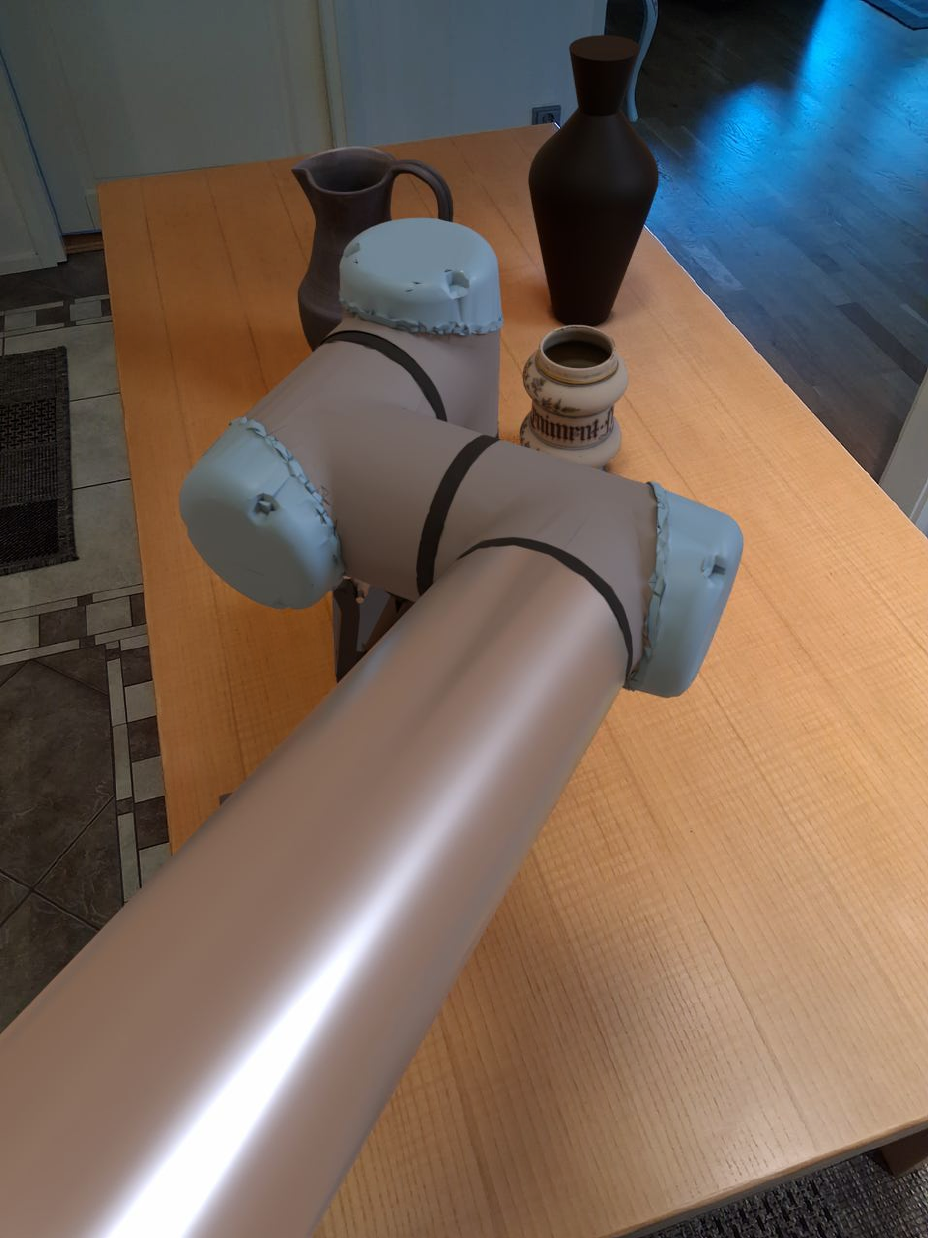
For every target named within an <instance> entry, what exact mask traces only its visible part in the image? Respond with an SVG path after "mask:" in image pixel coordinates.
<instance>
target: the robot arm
mask: <svg viewBox="0 0 928 1238" xmlns="http://www.w3.org/2000/svg"><path fill="white" fill-rule="evenodd" d="M500 288H501V287H500V275H499V263H498V258H497V256H496V253H495V251H494V249H493V247H492V246H491V244H490V243H489V242H488V241H487V240H486V239H485V237H483V236H482V235H481V234H479V233H478V232H477V231H475V230H474V229H471V228H470V227H468V226H465V225H463V224H461V223H457V222H454V221H453V222H448V221H444V220H440V219H438V218H435V217H405V218H398V219H392V221H388V222H385V223H381V224H379V225H376V226H374V227H371V228H369V229H367V230H365V231H363V232H362V233H360V234H359V235H357V236H356V237H355V238H354V239H353V240H352V241H351V242H350V243H349V244H348V245H347V247H346V248H345V250H344V254H343V257H342V259H341V262H340V291H339V293H338V294H339V296H340V297H339V298H338V299H339V301H340V306H341V307H342V308H343V314H344V315H343V318H342V322H341V323H340V324H339V325H338V326H337V327H336V328H335V329H334V330H333V331H332V332H330V333H329V334H328V335H327V336H326V337H325V338H324V339H323V340H322V341H321V343H320V344H319V345H318V346H317V347H316V349H315V351H314V352H311V354H309V355H308V356H307V357H306V358H305V359H303V360H302V362H300V363H299V364H298V366H296V367H295V368H294V369H293V370H292V371H290V372H289V373H288V375H286V376H285V377H284V378H283V379H282V380H281V381H279V382H278V383H277V384H276V385H275V386H274V387H273V388H271V390H270V391H268V392H267V393H266V394H265V395H264V396H263V397H261V399H259V400H258V402H256V403H255V404H254V405H253V406H252V407H251V408H250V409H249V410H248V411H246V412H245V413H244V414H243V415H242V416H241V417H236V418H234V419H232V420H231V421H230V423H228V425H227V427H226V430H225V431H224V432H223V433H222V434H221V435H219V437H218V438H217V439H216V440H215V441H214V442H213V443H212V444H211V446H209V447H208V448H207V450H206V451H205V452H204V453H202V455H201V456H200V458H199V460H198V461H197V463H195V465H194V466H193V467H192V468H191V469H190V470H189V472H188V473H187V474H186V476H185V477H184V479H183V481H182V484H181V486H180V490H179V498H178V510H179V514H180V518H181V520H182V522H183V523H184V525H185V527H186V533H187V537H188V539H189V541H190V543H191V545H192V546H193V548H194V549H195V551H196V552H197V554H198V555H199V556H200V558H201V559H202V560H203V561H204V563H205V564H206V565H207V566H208V567H209V568H210V569H211V570H212V572H214V573H215V575H217V576H218V577H219V578H220V579H221V581H223V582H225V583H226V584H227V585H229V586H230V587H231V588H232V589H233V590H235V591H237V593H239V594H241V595H243V596H244V597H246V598H248V599H250V601H252V602H255V603H257V604H259V605H262V606H265V607H268V608H271V609H274V610H279V611H280V610H281V611H282V610H285V609H288V608H290V609H292V610H298V611H299V610H307V609H310V608H311V607H313V606H315V605H316V604H317V603H319V602H320V601H321V600H322V599H323V598H324V597H325V596H326V595H327V594H328V593H329V592H332V591H333V595H334V597H335V599H336V602H337V604H338V606H339V616H338V630H337V644H336V665H337V678H338V679H339V680H341V681H340V682H339V683H338V684H337V683H336V685H335V686H334V687H332V689H331V690H330V691H329V692H328V693H327V694H326V695H325V696H324V697H323V698H322V699H321V700H320V701H319V702H318V703H317V704H316V705H315V706H314V707H313V708H312V709H311V711H310V712H309V713H308V714H307V715H306V716H305V717H304V718H303V719H302V720H301V721H300V722H299V723H298V724H297V725H296V726H294V728H293V729H292V730H291V732H289V733H288V735H287V736H286V737H285V738H284V739H283V740H282V741H281V742H280V743H279V744H278V745H277V746H276V747H275V748H274V749H273V750H272V751H271V752H270V753H269V754H268V755H267V756H266V757H265V758H264V760H263V761H261V762H260V764H258V766H257V767H255V769H254V770H253V771H252V772H251V773H250V774H249V775H248V776H247V777H246V778H245V779H244V780H243V781H242V782H241V783H240V784H239V786H237V788H235V790H233V791H232V792H233V793H232V794H231V795H230V796H229V797H228V798H227V799H226V800H225V801H224V802H223V803H222V804H221V805H220V804H219V806H218V807H217V808H216V809H215V810H214V811H213V813H212V814H210V815H209V817H208V818H206V819H205V821H203V823H202V824H201V825H200V826H199V827H198V828H197V829H196V831H194V832H193V833H192V835H190V836H189V837H188V838H187V840H186V841H185V842H183V844H182V845H181V846H180V847H179V848H178V849H177V850H176V851H175V852H174V853H173V854H171V856H170V857H169V858H168V859H167V860H166V861H165V863H163V864H162V866H161V867H159V869H158V870H157V871H156V872H155V873H154V874H153V875H152V876H151V877H150V878H149V879H148V880H147V881H146V882H145V883H144V884H143V886H141V887H140V888H139V889H138V891H136V893H135V894H133V896H131V898H130V899H128V901H127V902H126V903H125V904H124V905H123V906H122V907H121V908H120V909H119V910H118V912H116V913H115V914H114V915H113V917H111V919H110V920H109V921H107V923H106V924H105V925H104V926H103V927H102V928H101V929H100V930H99V931H97V933H96V934H94V936H93V937H92V938H91V940H89V942H87V944H86V945H84V947H83V948H82V949H81V950H80V951H78V953H77V954H76V955H75V956H74V957H73V958H72V959H71V960H70V961H69V963H68V964H67V965H66V966H64V967H63V968H62V970H61V971H60V972H59V973H57V975H56V976H55V977H54V978H53V979H52V980H51V981H50V982H49V983H48V984H47V985H46V986H45V987H44V988H43V990H41V991H40V992H39V994H38V995H36V997H34V999H33V1000H31V1002H30V1003H29V1004H28V1005H27V1006H26V1007H25V1008H24V1009H23V1010H22V1011H21V1012H20V1013H19V1014H18V1015H17V1016H16V1017H15V1019H13V1021H11V1023H10V1024H8V1025H7V1027H6V1028H5V1029H4V1030H3V1031H2V1032H1V1033H0V1238H313V1237H314V1235H315V1233H316V1231H317V1230H318V1228H319V1226H320V1224H321V1222H322V1221H323V1219H324V1217H325V1215H326V1214H327V1212H328V1210H329V1208H330V1206H331V1204H332V1203H333V1201H334V1199H335V1198H336V1196H337V1195H338V1193H339V1190H340V1189H341V1187H342V1185H343V1184H344V1183H345V1182H344V1181H345V1180H346V1178H347V1176H348V1174H349V1173H350V1171H351V1170H352V1167H353V1166H354V1164H355V1162H356V1160H357V1159H358V1157H359V1155H360V1153H361V1151H362V1150H363V1148H364V1146H365V1144H366V1143H367V1141H368V1139H369V1137H370V1136H371V1134H372V1132H373V1130H374V1128H375V1127H376V1125H377V1123H378V1122H379V1120H380V1118H381V1116H382V1114H383V1113H384V1111H385V1109H386V1107H387V1106H388V1103H389V1102H390V1100H391V1098H392V1097H393V1095H394V1093H395V1092H396V1089H397V1088H398V1086H399V1084H400V1082H401V1081H402V1079H403V1077H404V1076H405V1074H406V1072H407V1070H408V1069H409V1066H410V1064H411V1063H412V1061H413V1060H414V1057H415V1056H416V1054H417V1052H418V1051H419V1049H420V1047H421V1045H422V1043H423V1041H424V1040H425V1038H426V1036H427V1035H428V1032H429V1031H430V1029H431V1028H432V1026H433V1024H434V1023H435V1020H436V1018H437V1017H438V1015H439V1014H440V1012H441V1010H442V1008H443V1006H444V1004H445V1002H446V1001H447V999H448V997H449V995H450V994H451V992H452V990H453V988H454V987H455V985H456V984H457V981H458V979H459V978H460V976H461V974H462V973H463V970H464V969H465V967H466V965H467V964H468V962H469V960H470V958H471V956H472V955H473V953H474V952H475V949H476V947H477V946H478V944H479V942H480V940H481V939H482V937H483V935H484V933H485V932H486V930H487V929H488V926H489V925H490V922H491V921H492V920H493V917H494V916H495V914H496V912H497V910H498V909H499V907H500V905H501V903H502V901H503V900H504V898H505V897H506V895H507V893H508V892H509V889H510V887H511V886H512V884H513V882H514V881H515V879H516V877H517V875H518V873H519V871H520V870H521V868H522V866H523V864H524V863H525V861H526V859H527V857H528V855H529V853H530V852H531V850H532V848H533V847H534V845H535V843H536V841H537V839H538V838H539V836H540V835H541V833H542V830H543V829H544V827H545V825H546V824H547V822H548V820H549V818H550V816H551V815H552V813H553V811H554V809H555V807H556V806H557V805H558V802H559V800H560V799H561V797H562V795H563V794H564V792H565V790H566V788H567V787H568V785H569V783H570V781H571V780H572V777H573V776H574V774H575V772H576V770H577V769H578V766H579V765H580V764H581V761H582V760H583V758H584V757H585V755H586V752H587V751H588V749H589V747H590V745H591V743H592V742H593V740H594V738H595V737H596V735H597V734H598V731H599V730H600V728H601V726H602V724H603V723H604V721H605V719H606V717H607V715H608V714H609V712H610V710H611V708H612V707H613V705H614V703H615V701H616V699H617V698H618V696H619V694H620V693H621V690H622V689H624V690H625V691H628V692H633V693H634V692H635V691H637V692H641V693H643V694H649V695H651V696H656V697H658V698H659V697H660V698H663V699H671V698H677V697H681V696H682V695H683V694H684V693H685V692H686V691H688V690H689V689H690V687H691V686H692V684H693V682H694V681H695V679H696V678H697V676H698V674H699V672H700V671H701V669H702V666H703V663H704V661H705V659H706V658H707V657H706V656H707V654H708V652H709V649H710V647H711V645H712V643H713V640H714V637H715V634H716V632H717V630H718V627H719V624H720V621H721V619H722V617H723V614H724V611H725V608H726V606H727V603H728V600H729V597H730V595H731V592H732V589H733V587H734V583H735V580H736V577H737V575H738V571H739V568H740V564H741V561H742V557H743V553H744V546H745V545H744V544H745V543H744V541H745V540H744V535H743V531H742V529H741V527H740V525H739V524H738V522H737V521H736V520H735V519H734V518H733V517H732V516H730V515H729V514H727V513H725V512H723V511H721V510H718V509H716V508H714V507H711V506H708V505H706V504H703V503H701V502H698V501H695V500H693V499H691V498H688V497H686V496H682V495H680V494H678V493H675V492H672V491H670V490H668V489H665V488H664V487H662V484H661V483H659V482H656V481H651V480H650V481H646V482H645V483H644V482H641V481H637V480H634V479H630V478H627V477H624V476H621V475H617V474H614V473H611V472H608V471H607V472H605V471H602V470H598V469H595V468H592V467H589V466H586V465H582V464H579V463H576V462H573V461H569V460H566V459H563V458H560V457H557V456H553V455H550V454H547V453H544V452H540V451H537V450H534V449H531V448H527V447H524V446H521V444H517V443H514V442H511V441H508V440H504V439H501V438H500V430H499V423H500V422H499V402H500V400H499V399H500V398H499V397H500V365H501V333H502V331H501V329H502V328H503V326H504V324H505V323H504V314H503V311H502V300H501V291H500V290H501V289H500ZM371 585H372V586H375V587H377V588H380V589H383V590H384V591H385V592H387V593H388V594H389V595H390V597H389V599H388V601H387V603H386V605H385V607H384V609H383V611H382V613H381V615H380V617H379V619H378V621H377V623H376V625H375V627H374V629H373V631H372V633H371V635H370V637H369V639H368V641H367V643H366V644H365V645H364V643H362V651H357V641H358V631H359V621H360V604H361V603H363V602H364V597H366V596H367V595H368V593H369V587H370V586H371Z"/></svg>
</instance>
